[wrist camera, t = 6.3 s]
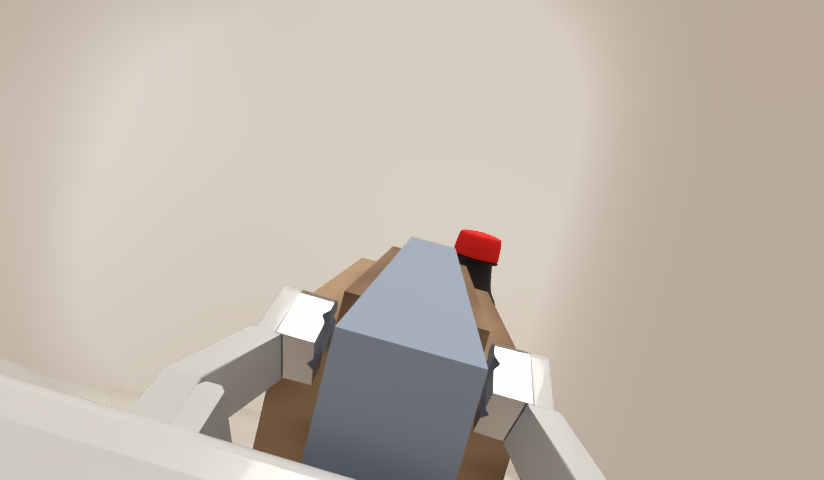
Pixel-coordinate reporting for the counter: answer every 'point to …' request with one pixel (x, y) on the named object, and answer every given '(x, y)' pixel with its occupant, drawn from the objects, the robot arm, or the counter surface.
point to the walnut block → (295, 400)
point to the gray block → (401, 374)
